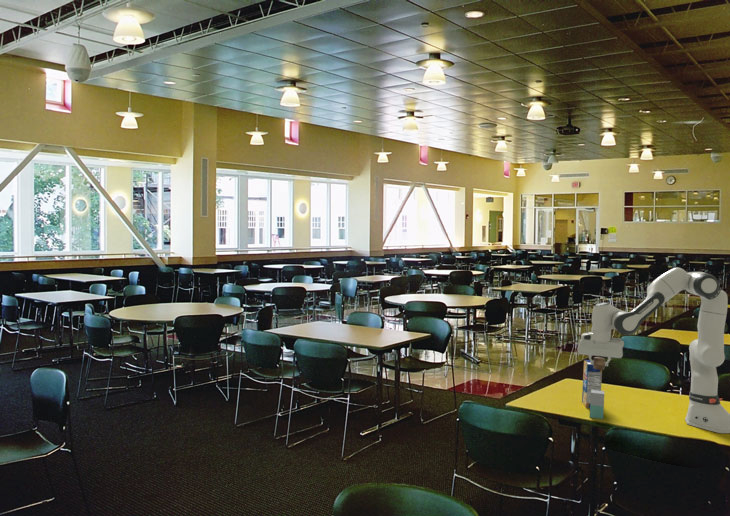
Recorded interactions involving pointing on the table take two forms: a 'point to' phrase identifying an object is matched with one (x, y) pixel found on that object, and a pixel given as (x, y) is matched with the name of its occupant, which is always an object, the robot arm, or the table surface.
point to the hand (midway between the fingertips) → (599, 365)
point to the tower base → (596, 411)
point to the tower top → (597, 398)
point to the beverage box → (590, 382)
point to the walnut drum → (599, 363)
